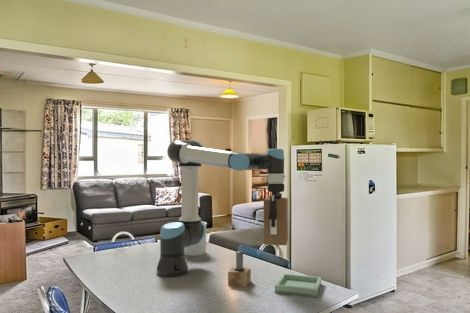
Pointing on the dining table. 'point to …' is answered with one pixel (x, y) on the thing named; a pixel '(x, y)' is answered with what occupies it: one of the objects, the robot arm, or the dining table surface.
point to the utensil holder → (197, 246)
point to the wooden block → (281, 222)
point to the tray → (298, 285)
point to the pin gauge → (239, 260)
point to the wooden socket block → (239, 277)
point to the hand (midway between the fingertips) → (276, 231)
